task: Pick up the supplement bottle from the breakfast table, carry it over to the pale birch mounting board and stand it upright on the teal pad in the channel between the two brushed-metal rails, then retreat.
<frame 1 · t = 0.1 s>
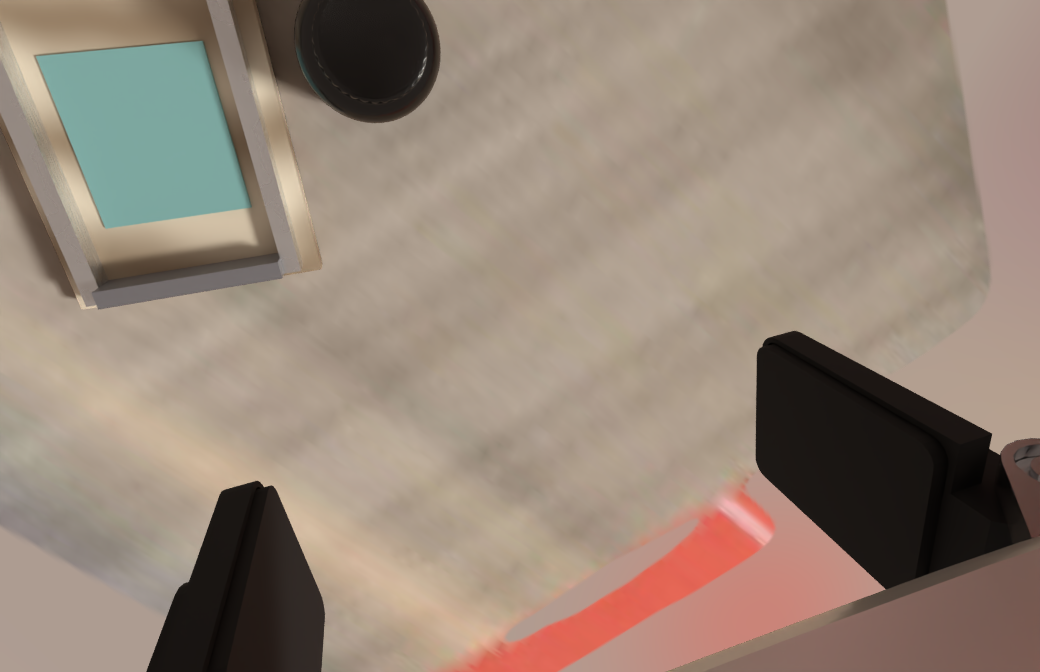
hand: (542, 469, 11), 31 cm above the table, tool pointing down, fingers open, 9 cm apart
supplement bottle: (367, 57, 35), on the table
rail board: (161, 136, 34), on the table
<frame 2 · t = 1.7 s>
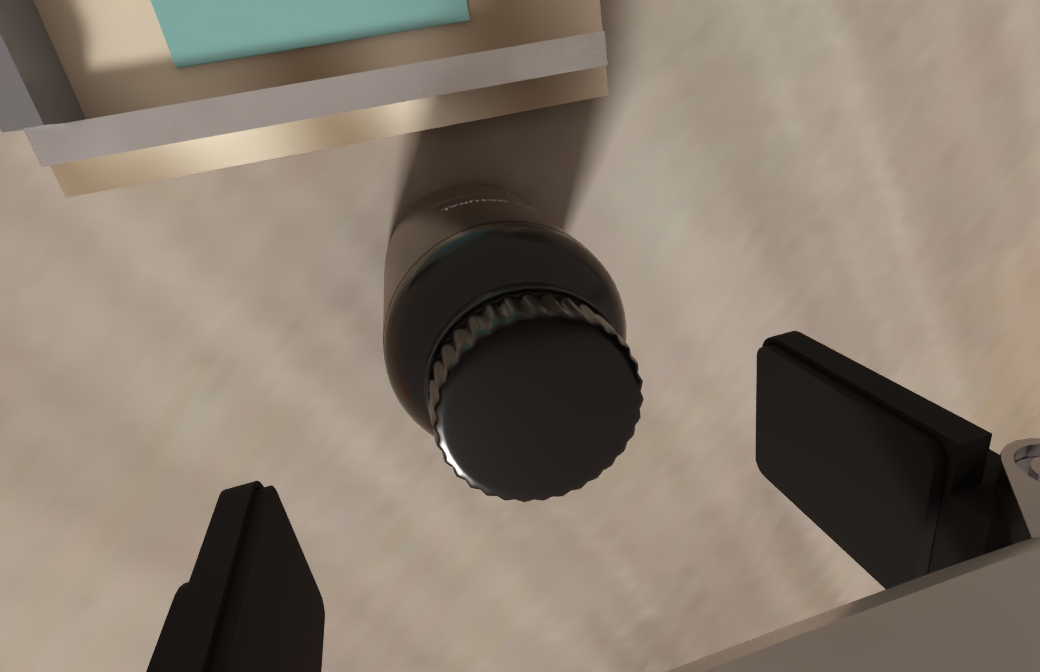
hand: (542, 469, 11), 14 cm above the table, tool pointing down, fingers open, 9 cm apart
supplement bottle: (467, 265, 23), on the table
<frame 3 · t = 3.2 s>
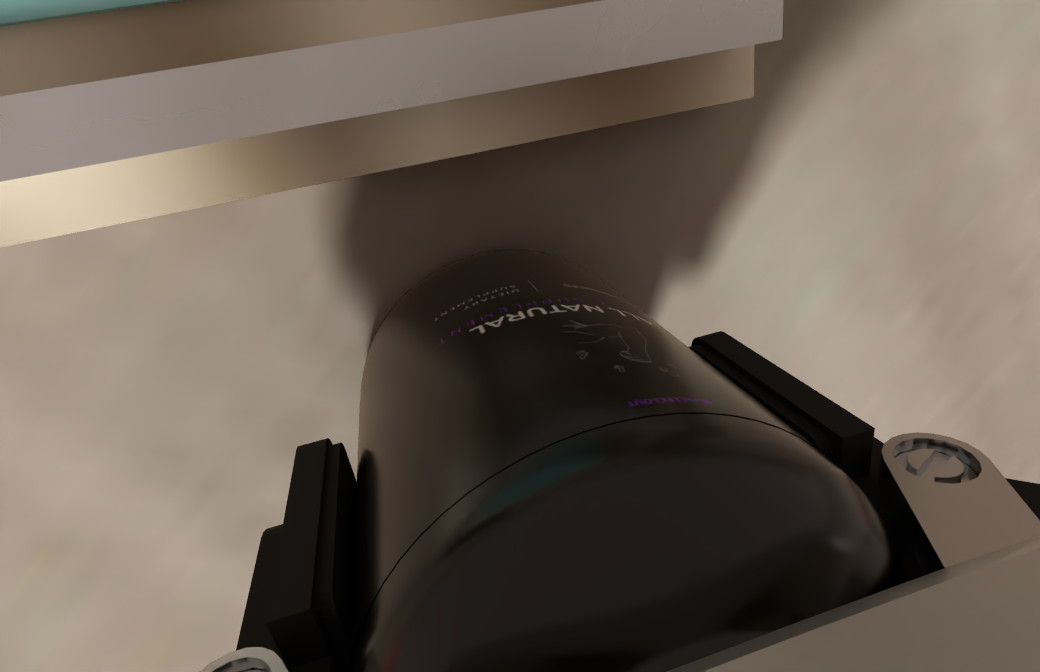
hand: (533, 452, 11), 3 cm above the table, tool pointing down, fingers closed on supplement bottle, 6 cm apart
supplement bottle: (497, 374, 14), on the table, touching gripper
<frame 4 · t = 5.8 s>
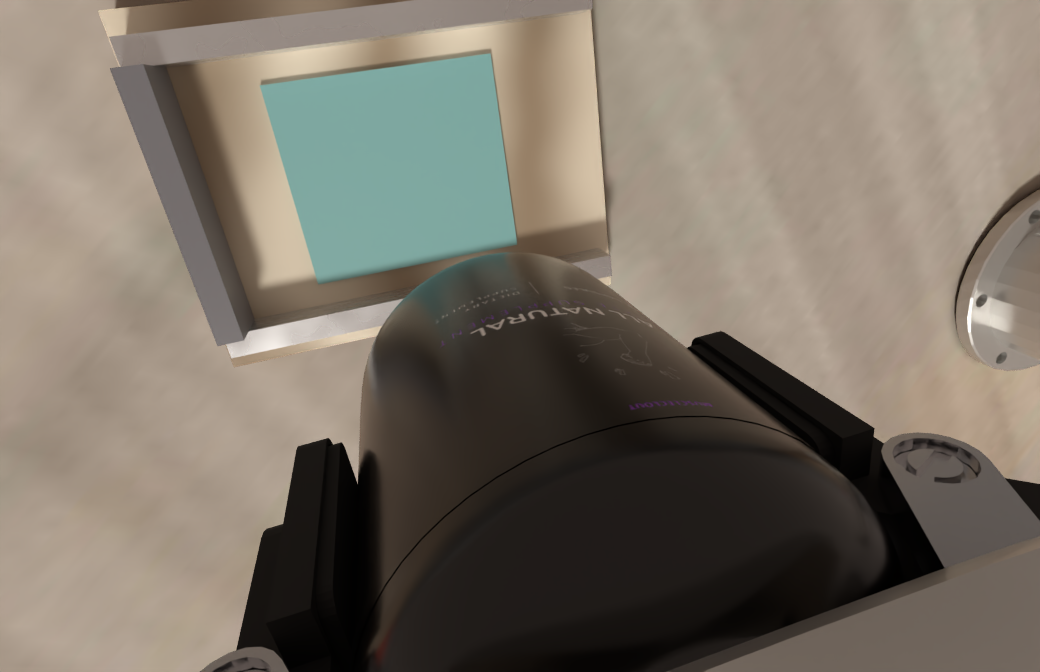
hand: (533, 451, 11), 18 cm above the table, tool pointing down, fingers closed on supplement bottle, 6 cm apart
supplement bottle: (498, 376, 14), point 14 cm above the table, touching gripper
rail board: (399, 168, 26), on the table
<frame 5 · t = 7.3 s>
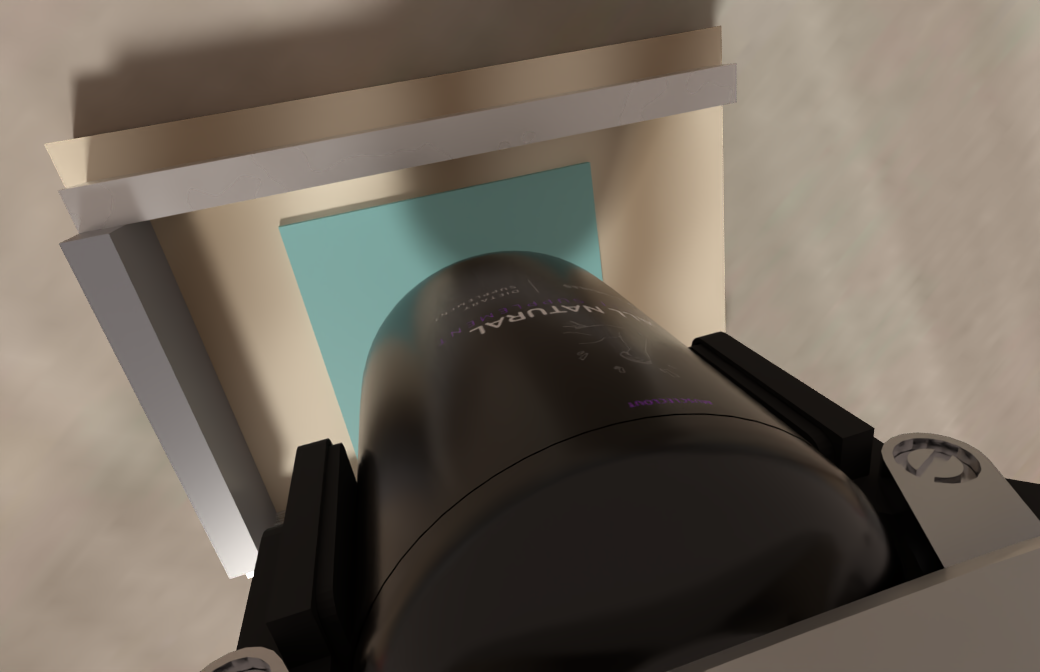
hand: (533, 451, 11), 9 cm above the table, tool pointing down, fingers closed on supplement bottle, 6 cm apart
supplement bottle: (497, 375, 14), point 6 cm above the table, touching gripper
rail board: (460, 304, 19), on the table
when the fingers open (6 cm above the table, at t = 8.3 s): supplement bottle drops 1 cm, resting on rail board.
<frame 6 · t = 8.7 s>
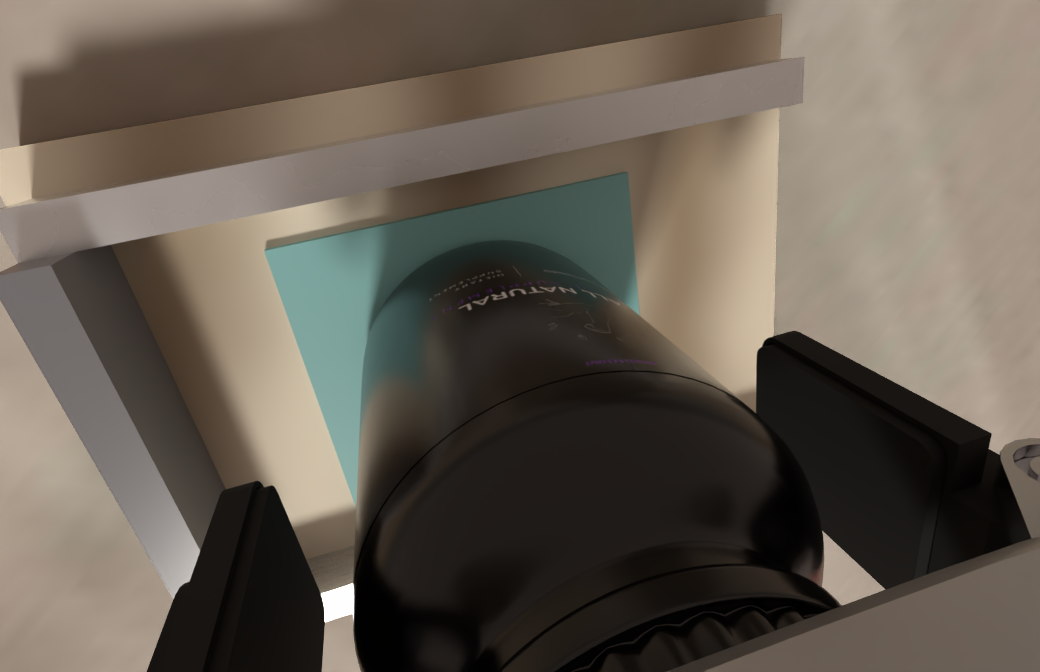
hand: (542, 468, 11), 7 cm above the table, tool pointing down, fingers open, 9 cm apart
supplement bottle: (488, 355, 16), point 2 cm above the table, touching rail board
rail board: (474, 333, 17), on the table
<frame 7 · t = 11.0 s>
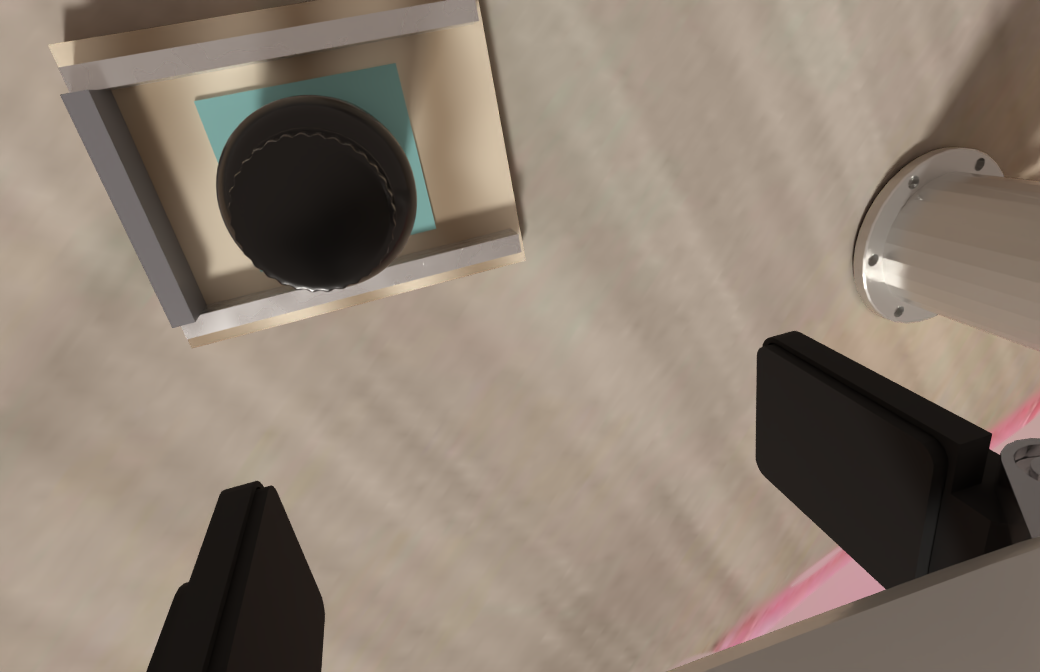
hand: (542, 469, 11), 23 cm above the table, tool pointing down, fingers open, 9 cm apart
supplement bottle: (328, 171, 28), point 2 cm above the table, touching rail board
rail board: (326, 167, 29), on the table
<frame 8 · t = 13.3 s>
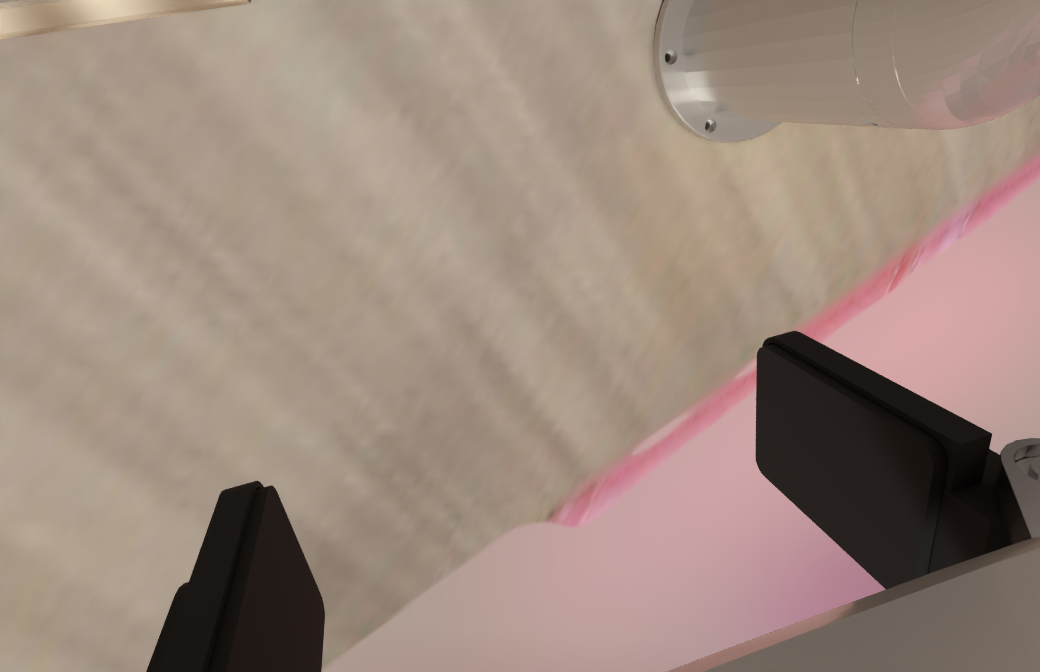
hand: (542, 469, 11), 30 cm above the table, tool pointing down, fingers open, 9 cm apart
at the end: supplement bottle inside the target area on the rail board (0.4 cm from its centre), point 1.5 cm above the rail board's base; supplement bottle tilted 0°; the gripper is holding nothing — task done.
